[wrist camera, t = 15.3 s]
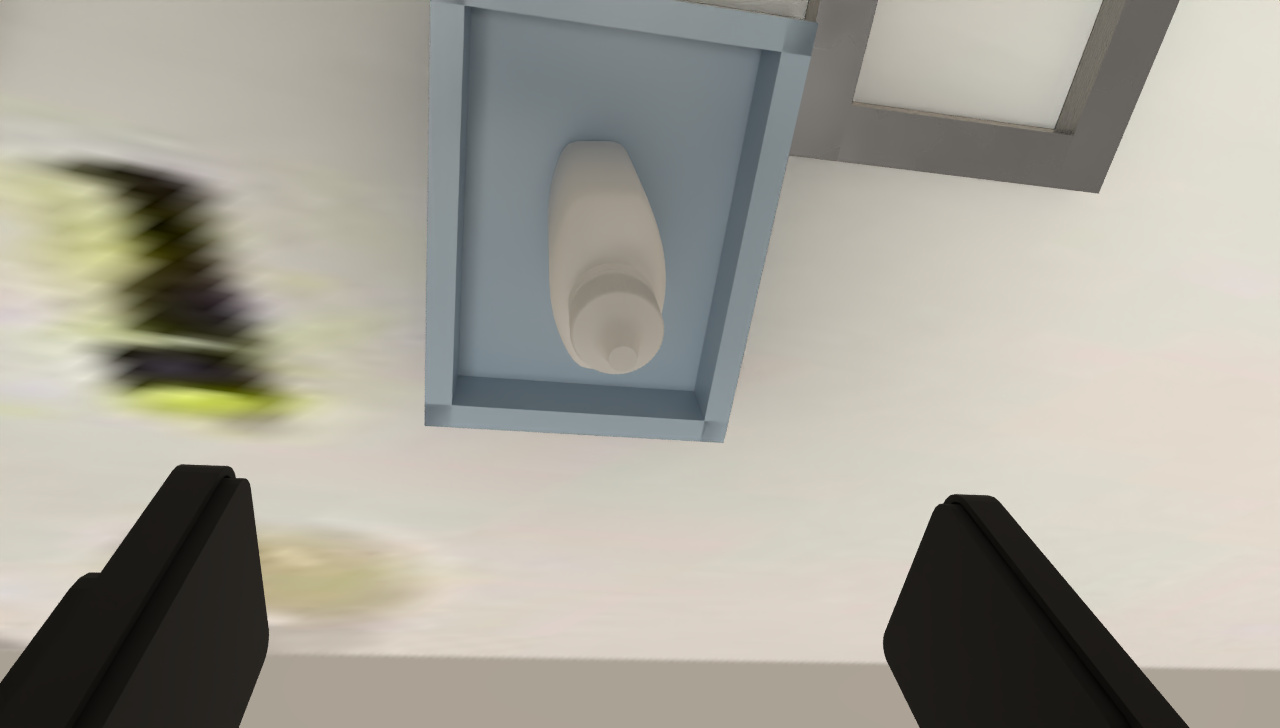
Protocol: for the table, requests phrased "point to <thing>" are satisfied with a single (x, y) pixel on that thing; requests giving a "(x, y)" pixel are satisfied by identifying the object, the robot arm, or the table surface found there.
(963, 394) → the table surface
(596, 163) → the eye dropper bottle
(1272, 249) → the table surface
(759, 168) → the tray
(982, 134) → the gray square frame
